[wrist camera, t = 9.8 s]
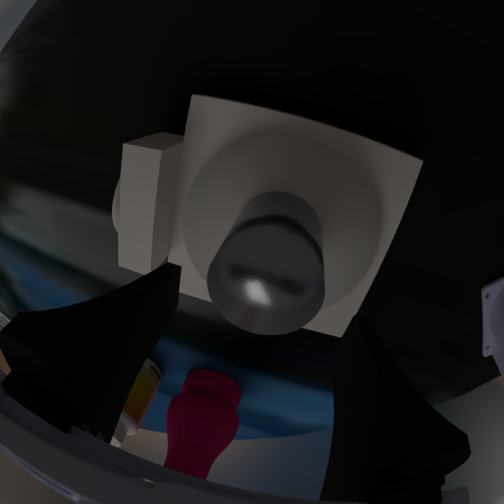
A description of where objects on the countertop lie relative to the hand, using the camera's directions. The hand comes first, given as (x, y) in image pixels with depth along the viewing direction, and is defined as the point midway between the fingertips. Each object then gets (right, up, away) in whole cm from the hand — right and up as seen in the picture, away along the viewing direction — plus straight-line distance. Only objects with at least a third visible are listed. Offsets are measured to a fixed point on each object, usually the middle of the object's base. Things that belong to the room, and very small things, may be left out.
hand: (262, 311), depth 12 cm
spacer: (+1, +3, +6) cm, 7 cm away
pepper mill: (-5, -12, +19) cm, 23 cm away
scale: (0, +5, +9) cm, 10 cm away
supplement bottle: (-13, -11, +20) cm, 26 cm away
